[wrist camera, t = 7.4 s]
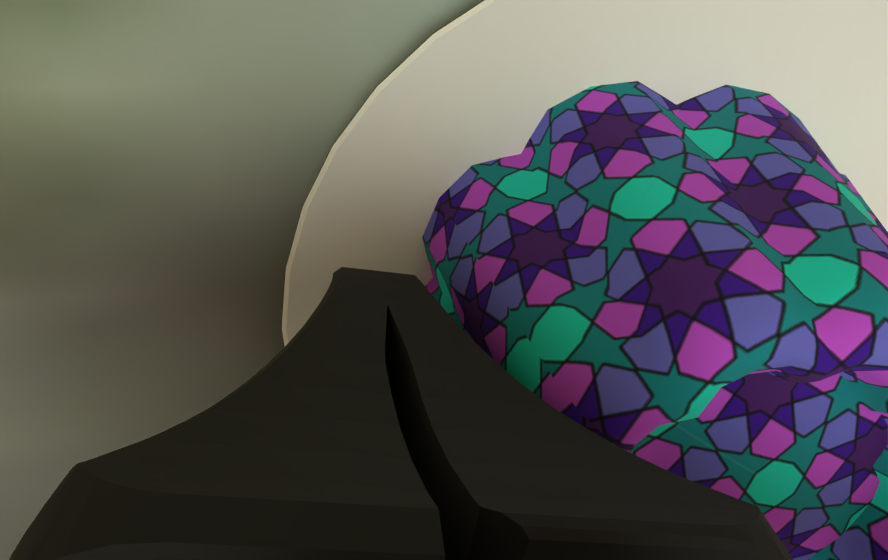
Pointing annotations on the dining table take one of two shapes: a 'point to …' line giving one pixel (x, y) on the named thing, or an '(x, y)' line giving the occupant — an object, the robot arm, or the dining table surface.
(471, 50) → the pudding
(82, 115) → the dining table surface
